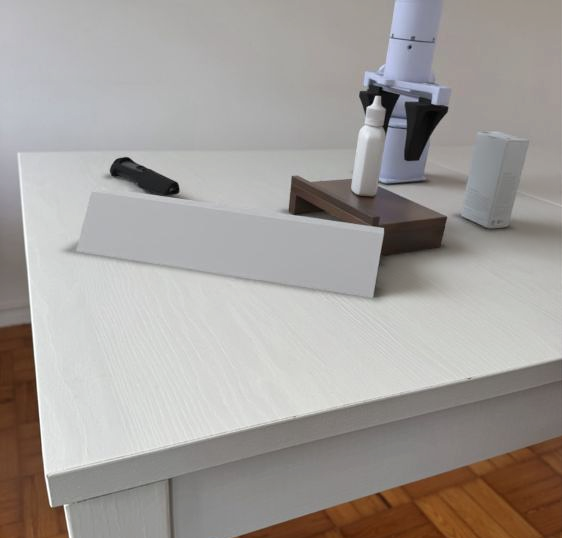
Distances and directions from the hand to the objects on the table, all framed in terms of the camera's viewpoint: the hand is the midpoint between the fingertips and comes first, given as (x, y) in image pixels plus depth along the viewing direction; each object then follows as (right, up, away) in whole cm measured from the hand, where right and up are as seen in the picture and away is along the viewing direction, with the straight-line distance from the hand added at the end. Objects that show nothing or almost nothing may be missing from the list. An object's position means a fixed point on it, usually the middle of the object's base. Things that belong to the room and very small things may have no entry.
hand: (392, 153), depth 80 cm
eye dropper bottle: (-4, -5, +1) cm, 7 cm away
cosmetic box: (+14, -8, +7) cm, 18 cm away
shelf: (-4, -10, -1) cm, 11 cm away
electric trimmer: (-35, -3, +8) cm, 36 cm away
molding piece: (-20, -15, -10) cm, 27 cm away
